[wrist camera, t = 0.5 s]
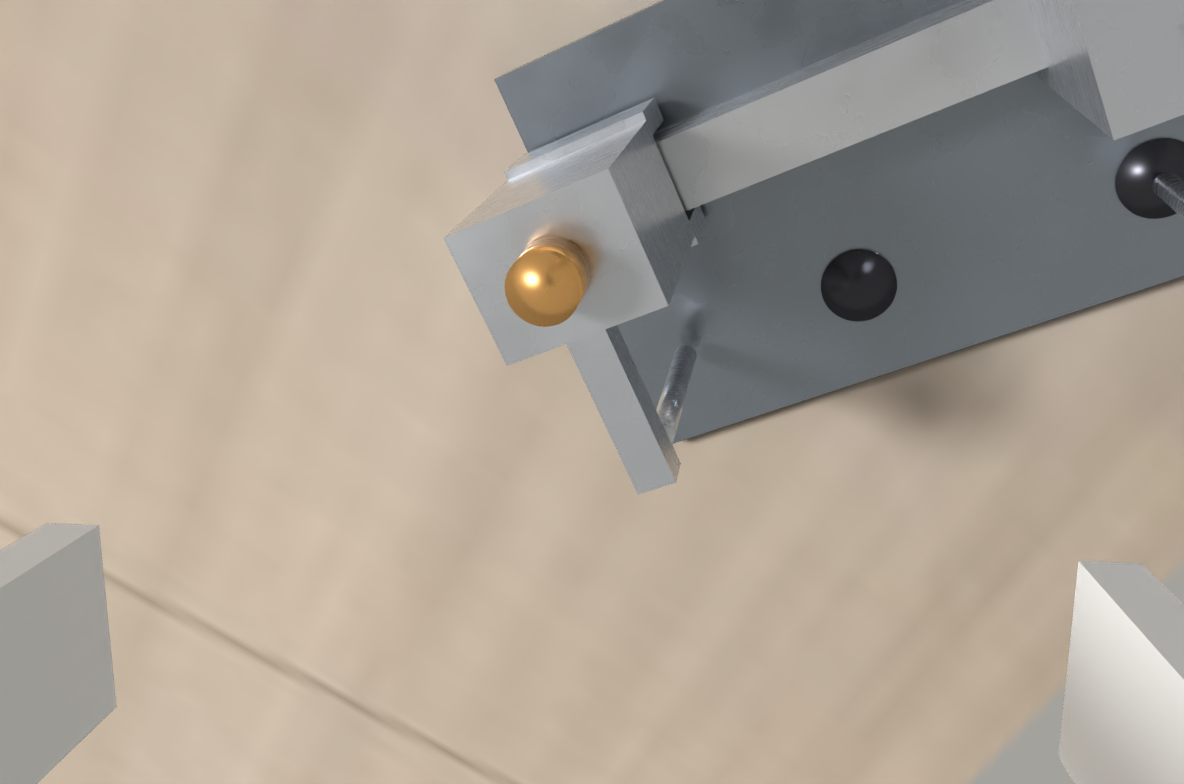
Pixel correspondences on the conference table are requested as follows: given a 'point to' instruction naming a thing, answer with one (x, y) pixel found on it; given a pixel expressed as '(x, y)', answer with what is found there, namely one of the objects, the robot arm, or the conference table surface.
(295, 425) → the conference table surface
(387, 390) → the conference table surface
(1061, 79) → the fixed leg
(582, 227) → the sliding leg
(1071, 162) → the flange plate
